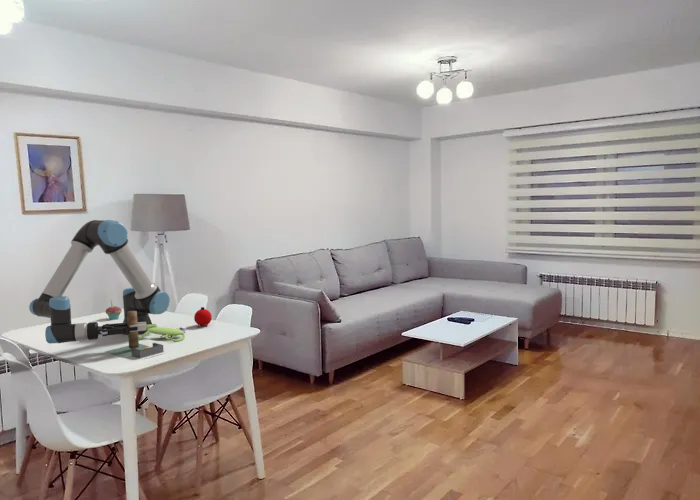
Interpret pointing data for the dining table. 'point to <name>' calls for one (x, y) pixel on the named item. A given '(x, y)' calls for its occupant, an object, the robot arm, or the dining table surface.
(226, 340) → the dining table surface
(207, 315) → the ornament
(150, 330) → the figurine
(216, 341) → the dining table surface
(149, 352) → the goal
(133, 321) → the peg
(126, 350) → the mat
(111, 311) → the cupcake
